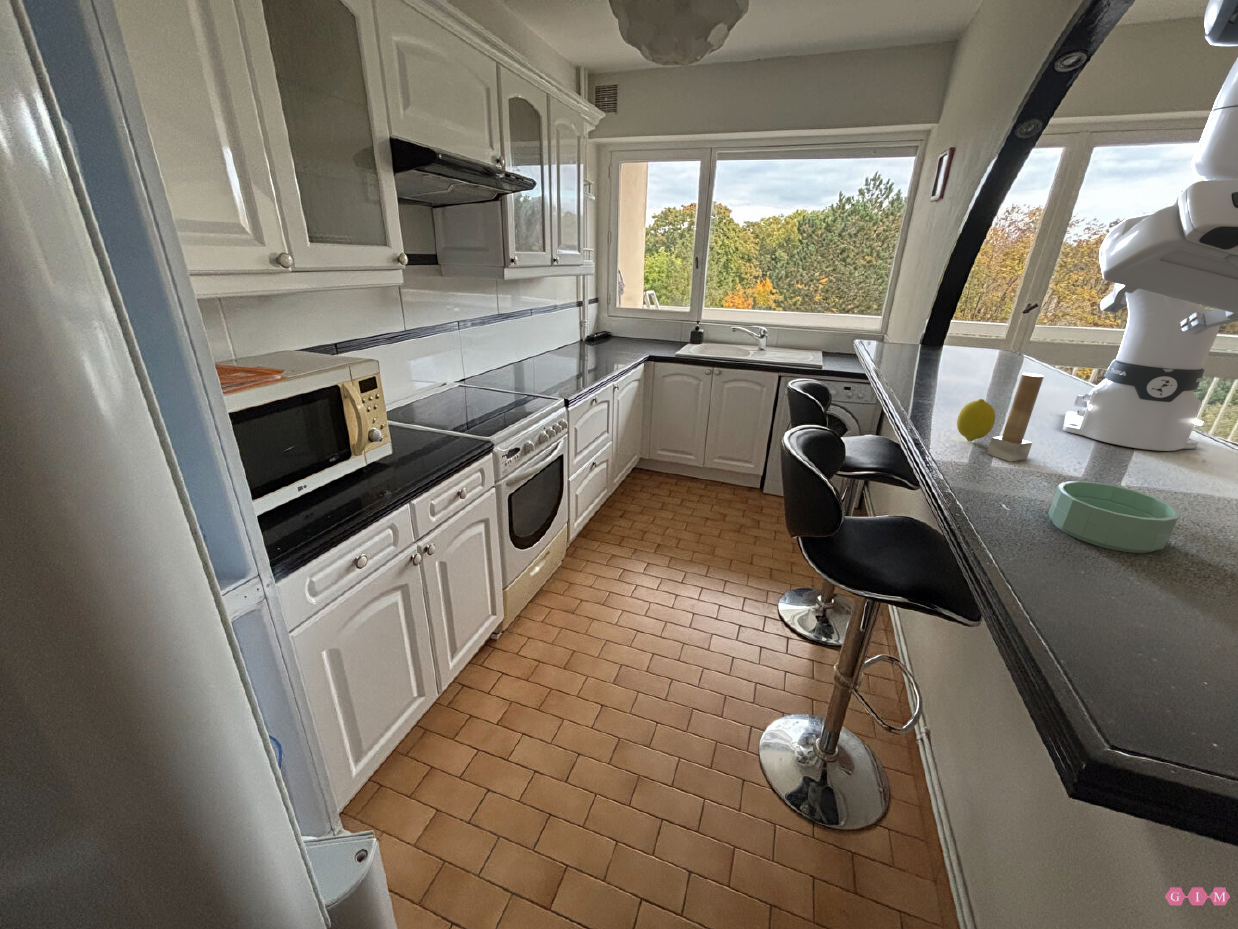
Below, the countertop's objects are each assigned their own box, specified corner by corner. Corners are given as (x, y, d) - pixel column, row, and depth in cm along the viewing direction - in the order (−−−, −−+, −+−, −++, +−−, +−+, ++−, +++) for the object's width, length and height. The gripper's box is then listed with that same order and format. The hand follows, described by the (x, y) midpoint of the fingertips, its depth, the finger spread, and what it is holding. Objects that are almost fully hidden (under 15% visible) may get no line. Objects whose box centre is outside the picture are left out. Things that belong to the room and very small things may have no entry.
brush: (1003, 451, 88) (1028, 371, 83) (1026, 459, 85) (1055, 376, 80) (986, 453, 87) (1011, 372, 82) (1010, 461, 84) (1037, 378, 78)
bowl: (1040, 505, 68) (1051, 474, 67) (1145, 525, 64) (1160, 492, 62) (1056, 539, 60) (1069, 505, 58) (1178, 565, 55) (1197, 529, 53)
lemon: (993, 447, 90) (1006, 404, 87) (959, 445, 91) (971, 401, 88) (979, 437, 95) (991, 396, 92) (947, 435, 96) (958, 394, 93)
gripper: (1399, 229, 49) (1233, 321, 61) (1177, 177, 50) (1060, 277, 63) (1417, 277, 46) (1241, 362, 59) (1184, 221, 48) (1061, 316, 61)
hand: (1146, 318), depth 61 cm, fingers open, 8 cm apart
